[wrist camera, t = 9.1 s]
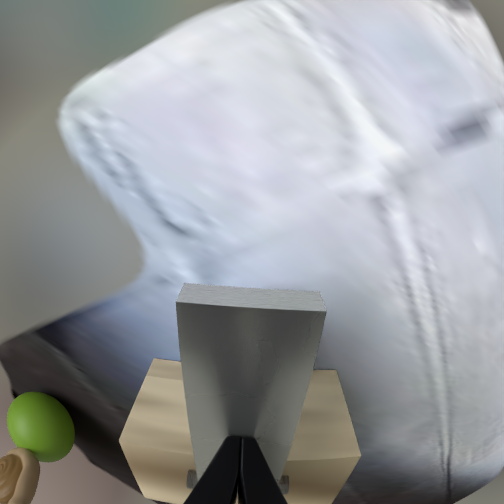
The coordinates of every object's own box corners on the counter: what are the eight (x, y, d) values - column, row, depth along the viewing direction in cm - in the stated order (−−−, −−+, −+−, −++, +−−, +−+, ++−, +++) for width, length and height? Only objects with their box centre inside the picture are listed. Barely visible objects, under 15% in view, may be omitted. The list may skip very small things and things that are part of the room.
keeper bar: (285, 480, 10) (286, 497, 10) (190, 474, 10) (188, 491, 10) (340, 291, 7) (350, 313, 6) (163, 280, 7) (151, 300, 6)
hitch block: (315, 434, 18) (327, 509, 12) (165, 425, 18) (144, 497, 12) (336, 369, 16) (361, 455, 10) (153, 358, 16) (118, 440, 10)
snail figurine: (106, 424, 18) (52, 556, 7) (59, 429, 19) (6, 532, 8) (59, 369, 17) (-28, 502, 5) (17, 382, 18) (-54, 483, 6)
